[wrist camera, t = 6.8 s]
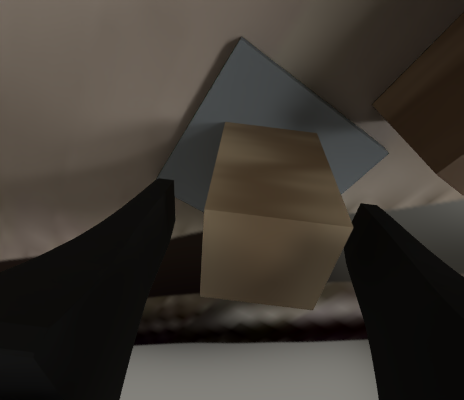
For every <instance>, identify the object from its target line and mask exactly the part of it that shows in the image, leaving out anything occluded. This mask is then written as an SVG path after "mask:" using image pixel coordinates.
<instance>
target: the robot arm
mask: <svg viewBox="0 0 464 400" xmlns="http://www.w3.org/2000/svg"><path fill="white" fill-rule="evenodd" d="M174 223H175V195H174V180H169V179H161V178H158V179H157V180H155V181H154V182H153V183H151V184H150V185H149V186H148V187H147V188H145V189H144V190H143V191H142V192H141V193H139V194H138V195H137V196H136V197H135V198H133V199H132V200H131V201H129V202H128V203H127V204H126V205H124V206H123V207H122V208H121V209H119V210H118V211H116V212H115V213H114V214H112V215H111V216H109V217H108V218H107V219H105V220H104V221H102V222H101V223H99V224H98V225H96V226H94V227H93V228H91V229H90V230H88V231H86V232H84V233H83V234H81V235H79V236H78V237H76V238H74V239H72V240H70V241H68V242H66V243H64V244H62V245H60V246H58V247H56V248H54V249H52V250H50V251H48V252H46V253H44V254H42V255H40V256H38V257H36V258H33V259H31V260H29V261H27V262H25V263H22V264H20V265H17V266H15V267H12V268H10V269H7V270H5V271H2V272H0V400H119V399H120V395H121V391H122V387H123V383H124V379H125V375H126V371H127V368H128V364H129V360H130V356H131V352H132V348H133V345H134V341H135V338H136V334H137V331H138V327H139V324H140V320H141V317H142V313H143V310H144V306H145V303H146V300H147V297H148V294H149V292H150V289H151V287H152V284H153V282H154V279H155V277H156V274H157V272H158V269H159V267H160V265H161V262H162V260H163V257H164V255H165V252H166V250H167V247H168V245H169V242H170V239H171V235H172V231H173V227H174ZM352 225H353V227H354V228H353V230H352V232H351V234H350V236H349V238H348V240H347V242H346V244H345V246H344V252H345V258H346V264H347V267H348V271H349V274H350V277H351V281H352V284H353V287H354V290H355V293H356V297H357V300H358V303H359V306H360V309H361V312H362V315H363V319H364V322H365V326H366V330H367V335H368V340H369V344H370V349H371V354H372V360H373V366H374V371H375V378H376V383H377V390H378V398H379V400H464V277H463V276H461V275H460V274H459V273H457V272H456V271H455V270H453V269H452V268H451V267H449V266H448V265H447V264H445V263H444V262H443V261H442V260H441V259H439V258H438V257H437V256H436V255H434V254H433V253H432V252H431V251H429V250H428V249H427V248H426V247H425V246H424V245H422V244H421V243H420V242H419V241H418V240H417V239H415V238H414V237H413V236H412V235H411V234H410V233H409V232H407V231H406V230H405V229H404V228H403V227H402V226H401V225H400V224H398V223H397V222H396V221H395V220H394V219H393V218H392V217H391V216H389V215H388V214H387V213H386V212H385V211H384V210H382V209H381V208H380V207H378V206H377V205H371V204H363V203H361V204H360V206H359V208H358V210H357V212H356V214H355V217H354V219H353V221H352Z"/></svg>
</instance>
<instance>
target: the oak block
mask: <svg viewBox="0 0 464 400" xmlns="http://www.w3.org/2000/svg"><path fill="white" fill-rule="evenodd" d="M353 228H354V227H353V225H352V222H351V220H350V217H349V214H348V212H347V209H346V207H345V204H344V202H343V199H342V196H341V194H340V191H339V189H338V186H337V183H336V181H335V178H334V176H333V173H332V171H331V168H330V165H329V163H328V160H327V158H326V155H325V152H324V150H323V147H322V145H321V142H320V140H319V137H318V134H317V133H313V132H304V131H296V130H288V129H280V128H272V127H264V126H256V125H247V124H239V123H231V122H225V125H224V129H223V133H222V138H221V142H220V146H219V150H218V154H217V158H216V163H215V167H214V171H213V175H212V179H211V183H210V188H209V192H208V196H207V200H206V204H205V208H204V226H203V246H202V267H201V288H200V296H201V297H209V298H217V299H226V300H234V301H242V302H250V303H258V304H266V305H274V306H282V307H291V308H299V309H307V310H313V309H314V307H315V305H316V303H317V301H318V299H319V297H320V295H321V293H322V291H323V289H324V287H325V285H326V283H327V281H328V278H329V276H330V274H331V272H332V270H333V268H334V266H335V264H336V262H337V260H338V258H339V256H340V254H341V252H342V250H343V248H344V246H345V244H346V242H347V240H348V238H349V236H350V234H351V232H352V230H353Z"/></svg>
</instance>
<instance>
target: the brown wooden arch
mask: <svg viewBox="0 0 464 400" xmlns="http://www.w3.org/2000/svg"><path fill="white" fill-rule="evenodd" d="M372 105H373V106H374V108H375V109H376V110H377V111H378V112H379V113H380V114H381V115H382V116H383V117H384V118H385V119H386V120H387V122H388V123H389V124H390V125H391V126H392V127H393V128H394V129H395V130H396V131H397V132H398V133H399V135H400V136H401V137H402V138H403V139H404V140H405V141H406V142H407V143H408V144H409V145H410V146H411V147H412V149H413V150H414V151H415V152H416V153H417V154H418V155H419V156H420V157H421V158H422V159H423V160H424V161H425V163H426V164H427V165H428V166H429V167H430V168H431V169H432V170H433V171H434V172H435V173H436V174H437V175H438V176H439V177H440V178H442V179H443V180H444V181H445V182H447V183H448V184H449V185H450V186H452V187H453V188H454V189H455V190H457V191H458V192H459V193H460V194H462V195H464V13H463V14H462V15H461V16H460V17H459V18H458V19H457V20H456V21H455V22H454V23H453V24H452V25H451V26H450V27H449V28H448V29H447V30H446V31H445V32H444V33H443V34H442V35H441V36H440V37H439V38H438V39H437V40H436V41H435V42H434V43H433V44H432V45H431V46H430V47H429V48H428V49H427V50H426V51H425V52H424V53H423V54H422V55H421V56H420V57H419V58H418V59H417V60H416V61H415V62H414V63H413V64H412V65H411V66H410V67H409V68H408V69H407V70H406V71H405V72H404V73H403V74H402V75H401V76H400V77H399V78H398V79H397V80H396V81H395V82H394V83H393V84H392V85H391V86H390V87H389V88H388V89H387V90H386V91H385V92H384V93H383V94H382V95H381V96H380V97H379V98H378V99H377V100H376V101H375V102H374V103H373V104H372Z"/></svg>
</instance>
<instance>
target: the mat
mask: <svg viewBox="0 0 464 400" xmlns="http://www.w3.org/2000/svg"><path fill="white" fill-rule="evenodd" d="M225 122H231V123H239V124H247V125H256V126H264V127H272V128H280V129H288V130H296V131H304V132H313V133H317V134H318V137H319V140H320V142H321V145H322V147H323V150H324V152H325V155H326V158H327V160H328V163H329V165H330V168H331V171H332V173H333V176H334V178H335V181H336V183H337V186H338V189H339V191H340V194H342V193H344V192H345V191H346V190H347V189H348V188H349V187H351V186H352V185H353V184H354V183H355V182H356V181H357V180H359V179H360V178H361V177H362V176H363V175H364V174H366V173H367V172H368V171H369V170H370V169H371V168H373V167H374V166H375V165H376V164H377V163H378V162H380V161H381V160H382V159H383V158H384V157H385V156H387V155H388V154H389V153H388V151H387V150H386V149H385V147H383V146H382V145H381V144H379V143H378V142H377V141H376V140H374V139H373V138H372V137H370V136H369V135H368V134H367V133H365V132H364V131H363V130H361V129H360V128H359V127H358V126H356V125H355V124H354V123H352V122H351V121H350V120H349V119H347V118H346V117H345V116H343V115H342V114H341V113H340V112H338V111H337V110H336V109H334V108H333V107H332V106H330V105H329V104H328V103H327V102H325V101H324V100H323V99H321V98H320V97H319V96H318V95H316V94H315V93H314V92H312V91H311V90H310V89H309V88H307V87H306V86H305V85H303V84H302V83H301V82H300V81H298V80H297V79H296V78H294V77H293V76H292V75H291V74H289V73H288V72H287V71H285V70H284V69H283V68H281V67H280V66H279V65H278V64H276V63H275V62H274V61H272V60H271V59H270V58H269V57H267V56H266V55H265V54H263V53H262V52H261V51H260V50H258V49H257V48H256V47H254V46H253V45H252V44H251V43H249V42H248V41H247V40H245V39H244V38H243V37H242V36H241V38H240V40H239V41H238V43H237V45H236V47H235V48H234V50H233V52H232V53H231V55H230V57H229V58H228V60H227V62H226V63H225V65H224V67H223V68H222V70H221V72H220V73H219V75H218V77H217V78H216V80H215V82H214V83H213V85H212V87H211V88H210V90H209V92H208V93H207V95H206V97H205V98H204V100H203V102H202V103H201V105H200V107H199V108H198V110H197V112H196V113H195V115H194V117H193V119H192V120H191V122H190V124H189V125H188V127H187V129H186V130H185V132H184V134H183V135H182V137H181V139H180V140H179V142H178V144H177V145H176V147H175V149H174V150H173V152H172V154H171V155H170V157H169V159H168V160H167V162H166V164H165V165H164V167H163V169H162V170H161V172H160V174H159V175H158V177H157V179H158V178H161V179H169V180H174V195H175V197H176V198H178V199H180V200H181V201H183V202H185V203H187V204H189V205H191V206H193V207H195V208H196V209H198V210H200V211H202V212H204V208H205V204H206V200H207V196H208V192H209V188H210V183H211V179H212V175H213V171H214V167H215V163H216V158H217V154H218V150H219V146H220V142H221V138H222V133H223V129H224V125H225ZM157 179H156V180H157Z"/></svg>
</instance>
